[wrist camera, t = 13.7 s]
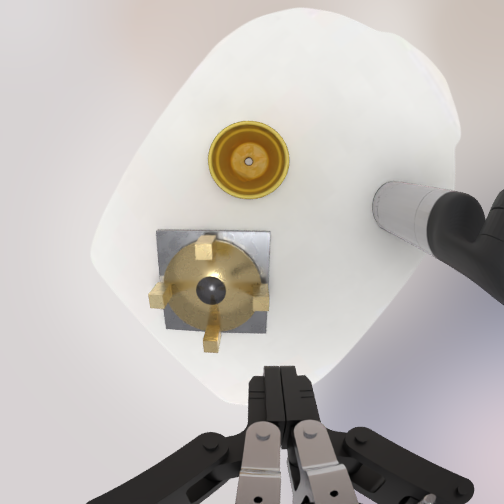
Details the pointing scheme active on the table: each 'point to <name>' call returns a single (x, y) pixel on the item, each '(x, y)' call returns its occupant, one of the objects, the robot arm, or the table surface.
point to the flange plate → (248, 241)
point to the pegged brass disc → (211, 288)
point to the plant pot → (248, 146)
